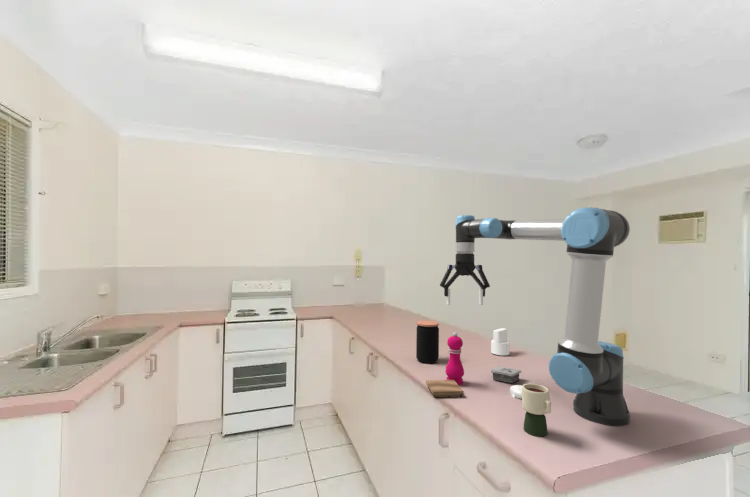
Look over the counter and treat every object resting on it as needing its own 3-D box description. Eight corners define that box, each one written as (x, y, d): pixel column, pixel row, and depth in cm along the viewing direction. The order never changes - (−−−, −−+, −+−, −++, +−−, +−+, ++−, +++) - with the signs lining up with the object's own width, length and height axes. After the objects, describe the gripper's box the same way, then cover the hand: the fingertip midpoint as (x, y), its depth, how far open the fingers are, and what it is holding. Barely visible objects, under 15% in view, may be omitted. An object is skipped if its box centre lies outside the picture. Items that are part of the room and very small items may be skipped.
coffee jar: (442, 359, 166) (442, 322, 166) (433, 365, 157) (433, 325, 157) (421, 355, 172) (422, 319, 172) (412, 361, 163) (412, 323, 163)
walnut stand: (463, 398, 121) (463, 391, 121) (433, 399, 121) (433, 391, 121) (453, 386, 132) (453, 379, 132) (425, 386, 131) (425, 380, 132)
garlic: (535, 402, 119) (535, 391, 119) (515, 402, 119) (515, 391, 119) (525, 392, 127) (525, 382, 127) (506, 392, 127) (506, 382, 127)
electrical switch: (513, 374, 133) (490, 365, 140) (511, 387, 133) (488, 378, 140) (522, 370, 140) (500, 362, 146) (520, 382, 140) (498, 374, 147)
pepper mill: (467, 384, 134) (468, 333, 134) (452, 387, 131) (452, 335, 132) (456, 378, 141) (457, 329, 141) (441, 380, 138) (442, 331, 138)
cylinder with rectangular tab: (496, 349, 184) (497, 327, 185) (512, 353, 178) (512, 330, 178) (487, 352, 179) (487, 329, 179) (503, 356, 172) (503, 332, 172)
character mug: (560, 441, 94) (560, 394, 94) (539, 445, 92) (539, 397, 92) (531, 422, 104) (532, 379, 105) (512, 425, 102) (512, 382, 102)
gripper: (491, 253, 146) (490, 303, 145) (433, 252, 145) (432, 303, 144) (498, 253, 138) (497, 306, 138) (437, 252, 137) (436, 305, 137)
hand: (464, 304), depth 141 cm, fingers open, 13 cm apart
